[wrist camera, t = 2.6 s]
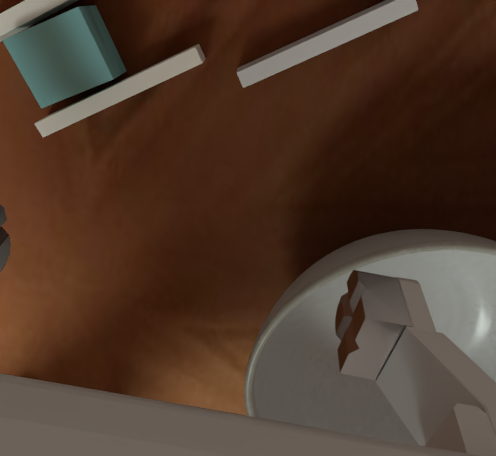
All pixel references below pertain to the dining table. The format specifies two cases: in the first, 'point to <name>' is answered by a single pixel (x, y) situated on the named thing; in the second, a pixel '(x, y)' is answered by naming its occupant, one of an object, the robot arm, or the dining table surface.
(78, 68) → the teal block
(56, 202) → the dining table surface
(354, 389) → the decorative bowl
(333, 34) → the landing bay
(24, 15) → the chute
